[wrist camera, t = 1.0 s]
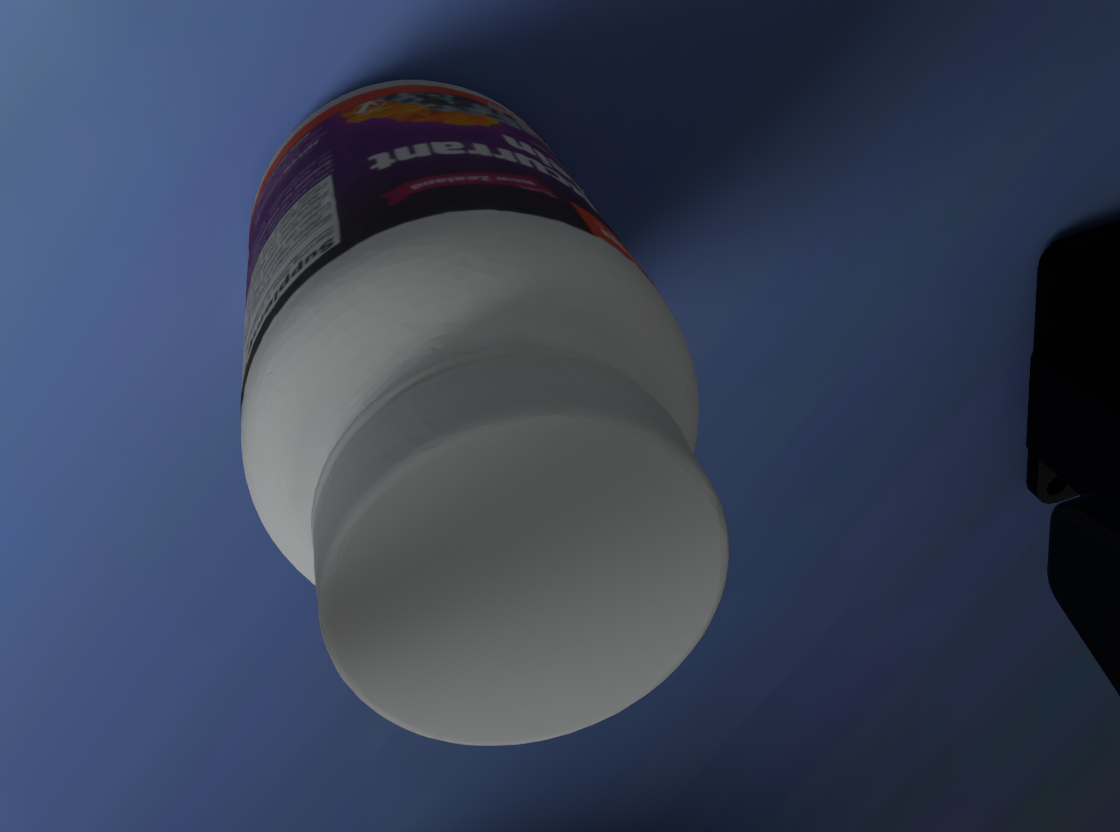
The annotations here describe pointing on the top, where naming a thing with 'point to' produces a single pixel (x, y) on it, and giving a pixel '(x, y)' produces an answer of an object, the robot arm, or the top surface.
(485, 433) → the pill bottle
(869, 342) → the top surface
